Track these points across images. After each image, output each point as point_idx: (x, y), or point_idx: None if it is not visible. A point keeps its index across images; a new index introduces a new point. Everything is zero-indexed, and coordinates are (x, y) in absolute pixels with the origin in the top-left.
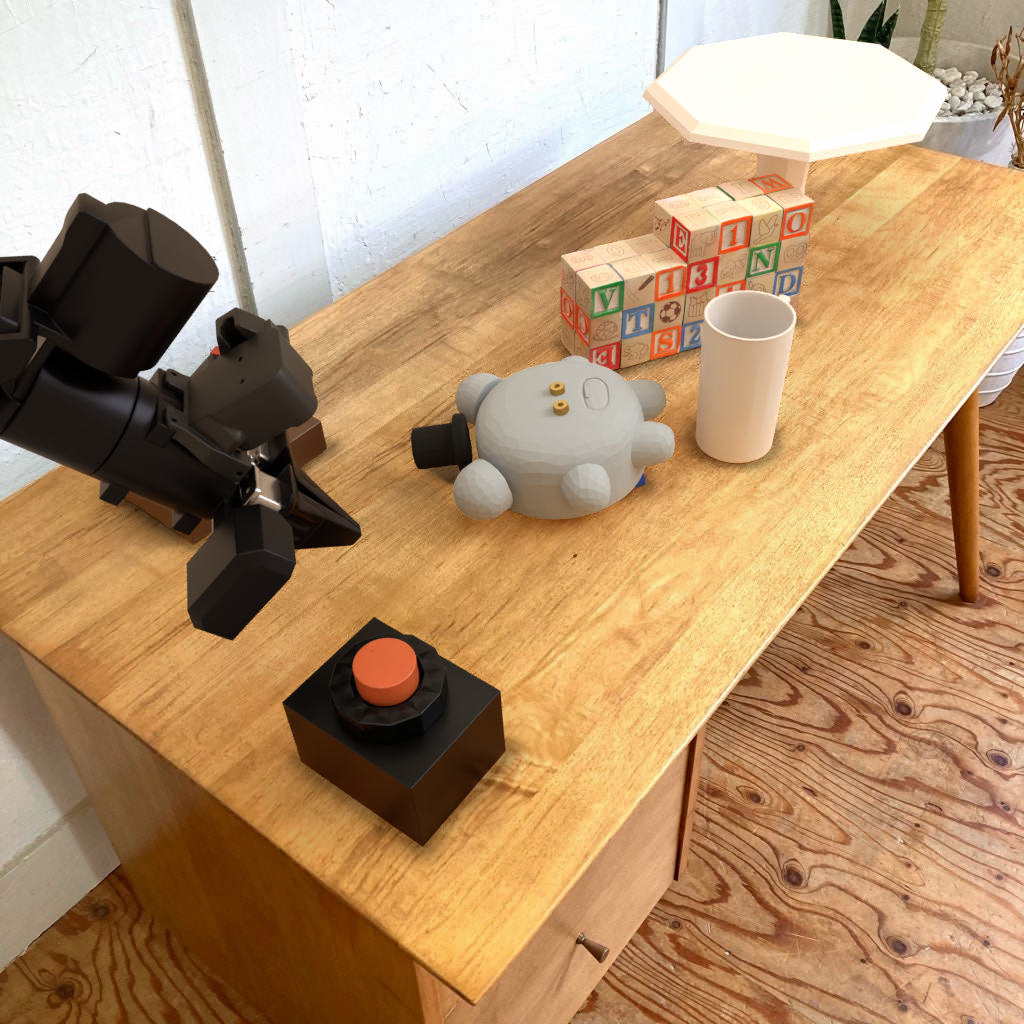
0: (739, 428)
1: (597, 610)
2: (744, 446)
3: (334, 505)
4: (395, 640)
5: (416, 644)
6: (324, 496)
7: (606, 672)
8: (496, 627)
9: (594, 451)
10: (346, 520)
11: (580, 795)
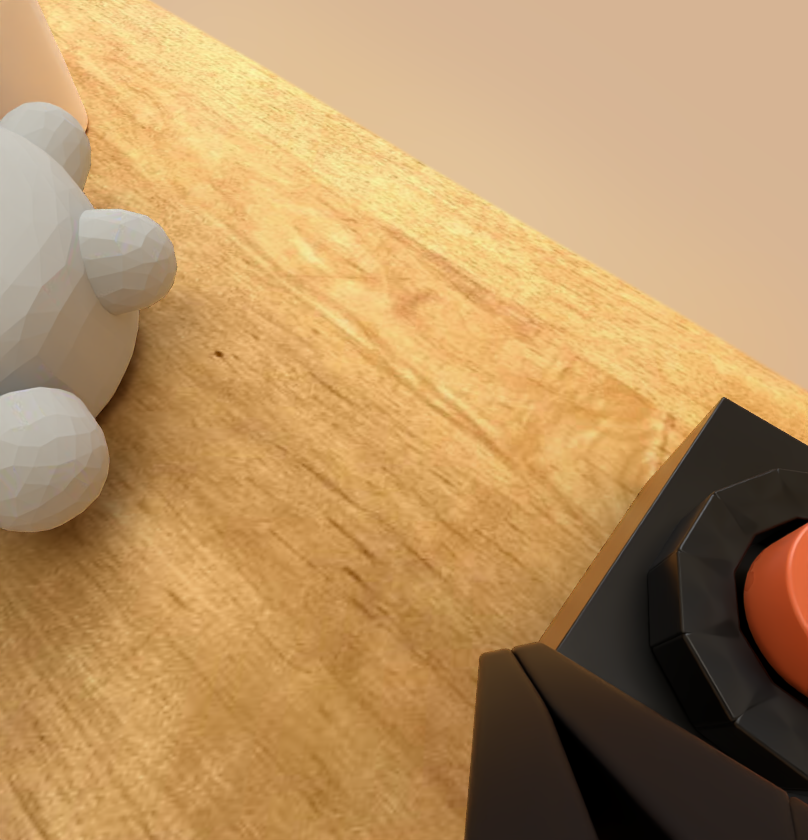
0: (51, 66)
1: (351, 333)
2: (72, 97)
3: (520, 763)
4: (798, 568)
5: (711, 538)
6: (530, 832)
7: (480, 334)
8: (370, 489)
9: (58, 193)
10: (554, 696)
11: (708, 386)
